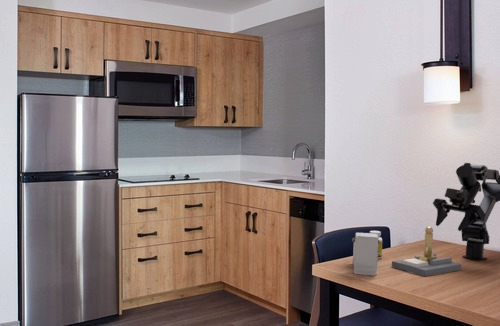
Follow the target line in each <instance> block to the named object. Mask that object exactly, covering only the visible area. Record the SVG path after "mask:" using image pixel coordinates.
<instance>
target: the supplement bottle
mask: <svg viewBox="0 0 500 326" xmlns="http://www.w3.org/2000/svg"><path fill="white" fill-rule="evenodd" d="M369 233H373V234H377V235H378V240H380V243H379V244H378V258H377V260H380V259H382V255H383V238H382V237H381V235H382V231H379V230H370V231H369Z"/></svg>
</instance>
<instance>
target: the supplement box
mask: <svg viewBox="0 0 500 326" xmlns="http://www.w3.org/2000/svg"><path fill="white" fill-rule="evenodd" d="M354 238H355V252H354V265H353V274H354V275H365V276H375V277H376V276H377V271H378V269H377V268H378V259H377V252H378V235H377V234H373V233H370V232H355V237H354Z"/></svg>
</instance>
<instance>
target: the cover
mask: <svg viewBox="0 0 500 326" xmlns="http://www.w3.org/2000/svg"><path fill="white" fill-rule="evenodd" d="M412 258H413V259H410V258H405V259H406V260H403V259H401V260H402V264H405V265H409V266H413V267H422V266H428V262H426V261H422V260H419V259H415V257H412Z"/></svg>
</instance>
